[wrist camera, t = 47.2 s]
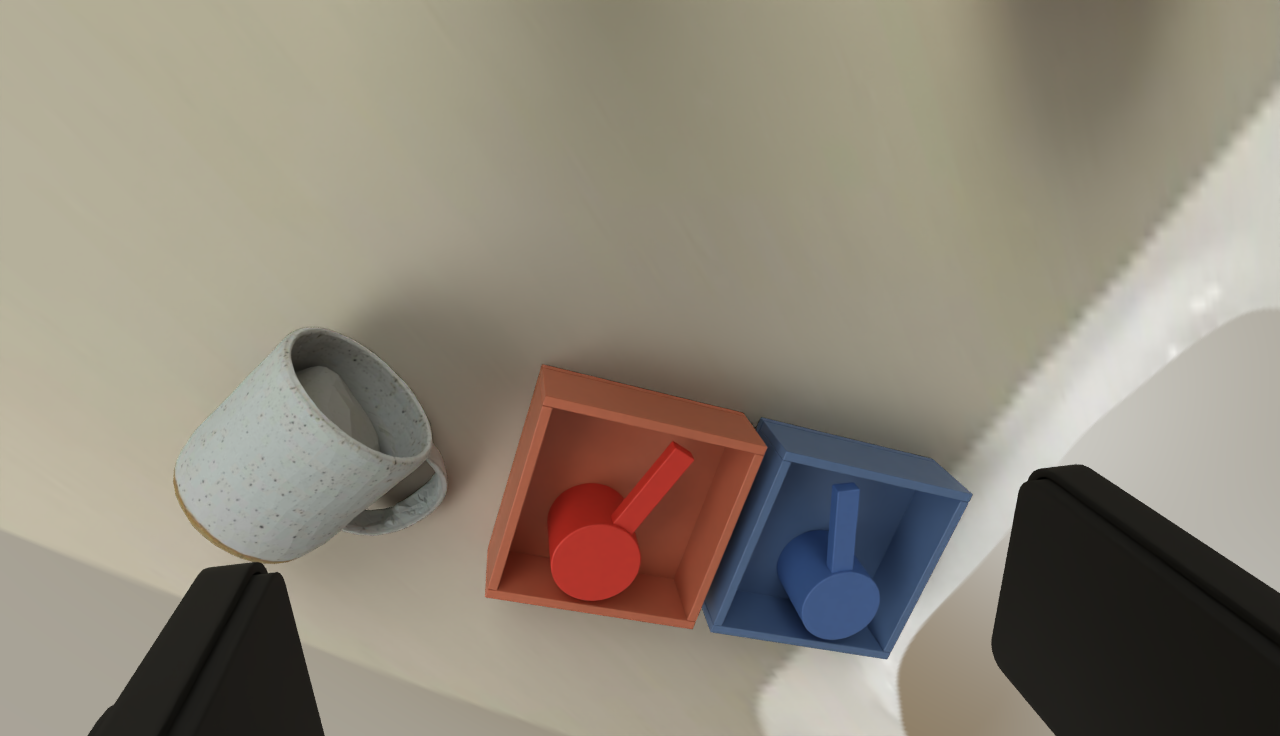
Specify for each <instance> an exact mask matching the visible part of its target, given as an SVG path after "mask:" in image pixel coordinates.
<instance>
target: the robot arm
mask: <svg viewBox="0 0 1280 736" xmlns="http://www.w3.org/2000/svg"><path fill="white" fill-rule="evenodd" d="M991 645H992V652H993V655H994V658H995V661H996V663H997V665H998V666H999V668H1000V669H1001V671H1002V672H1003V673H1004V674H1005V676H1006V677H1007V678H1008V679H1009V680H1010V682H1011V683H1012V684H1013V685H1014V686H1015V688H1016V689H1017V690H1018V691H1019V692H1020V693H1021V695H1022V696H1023V697H1024V698H1025V700H1026V701H1027V702H1028V703H1029V704H1030V705H1031V707H1032V708H1033V709H1034V710H1035V711H1036V713H1037V714H1038V715H1039V716H1040V717H1041V719H1042V720H1043V721H1044V722H1045V723H1046V724H1047V726H1048V727H1049V728H1050V729H1051V731H1052V732H1053V733H1054V734H1055V735H1056V736H1280V593H1279V592H1277V591H1276V590H1274V589H1273V588H1271V587H1269V586H1268V585H1266V584H1265V583H1263V582H1262V581H1260V580H1259V579H1257V578H1256V577H1254V576H1253V575H1251V574H1250V573H1248V572H1246V571H1245V570H1244V569H1242V568H1240V567H1239V566H1238V565H1236V564H1235V563H1233V562H1232V561H1230V560H1228V559H1227V558H1225V557H1224V556H1222V555H1221V554H1219V553H1218V552H1216V551H1215V550H1213V549H1212V548H1210V547H1209V546H1207V545H1206V544H1204V543H1203V542H1201V541H1200V540H1198V539H1197V538H1195V537H1194V536H1192V535H1191V534H1189V533H1188V532H1186V531H1184V530H1183V529H1182V528H1180V527H1178V526H1177V525H1175V524H1174V523H1172V522H1171V521H1169V520H1168V519H1166V518H1165V517H1163V516H1162V515H1160V514H1159V513H1157V512H1156V511H1154V510H1153V509H1151V508H1150V507H1148V506H1147V505H1145V504H1144V503H1142V502H1141V501H1139V500H1138V499H1136V498H1134V497H1133V496H1131V495H1130V494H1128V493H1127V492H1125V491H1124V490H1122V489H1120V488H1119V487H1118V486H1116V485H1115V484H1113V483H1111V482H1110V481H1109V480H1107V479H1105V478H1104V477H1102V476H1101V475H1100V474H1098V473H1097V472H1095V471H1093V470H1092V469H1090V468H1089V467H1086V466H1084V465H1067V466H1058V467H1050V468H1041V469H1038V470H1036V471H1034V472H1033V473H1032V474H1031V475H1030V477H1029V479H1028V481H1027V482H1025V483H1023V484H1022V486H1021V487H1020V490H1019V493H1018V498H1017V503H1016V509H1015V514H1014V520H1013V525H1012V531H1011V537H1010V542H1009V547H1008V552H1007V558H1006V564H1005V569H1004V574H1003V580H1002V585H1001V591H1000V596H999V602H998V607H997V613H996V618H995V624H994V629H993V635H992V644H991ZM88 736H325V735H324V731H323V728H322V724H321V720H320V716H319V712H318V708H317V704H316V701H315V697H314V693H313V689H312V685H311V682H310V677H309V674H308V670H307V666H306V662H305V658H304V654H303V650H302V646H301V642H300V639H299V635H298V631H297V627H296V623H295V619H294V615H293V612H292V608H291V604H290V600H289V596H288V592H287V588H286V584H285V581H284V579H283V577H282V575H281V574H280V573H278V572H275V573H268V572H267V570H266V568H265V567H264V565H263V564H262V563H260V562H252V563H243V564H235V565H226V566H218V567H210V568H206V569H203V570H202V571H201V572H200V574H199V575H198V576H197V577H196V579H195V581H194V582H193V584H192V585H191V587H190V588H189V590H188V591H187V593H186V594H185V596H184V597H183V599H182V601H181V602H180V604H179V605H178V607H177V608H176V610H175V611H174V613H173V614H172V616H171V618H170V619H169V621H168V622H167V624H166V625H165V627H164V628H163V630H162V632H161V633H160V635H159V636H158V638H157V639H156V641H155V642H154V644H153V645H152V647H151V648H150V650H149V652H148V653H147V655H146V656H145V658H144V659H143V661H142V662H141V664H140V665H139V667H138V668H137V670H136V672H135V673H134V675H133V676H132V678H131V679H130V681H129V682H128V684H127V686H126V687H125V689H124V690H123V692H122V693H121V695H120V696H119V698H118V699H117V701H116V702H115V704H114V705H113V706H111V707H109V708H108V709H107V710H106V711H105V713H104V714H103V715H102V716H101V717H100V718H99V720H98V721H97V722H96V724H95V725H94V727H93V729H92V730H91V731H90V733H89V734H88Z"/></svg>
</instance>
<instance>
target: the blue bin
mask: <svg viewBox="0 0 1280 736" xmlns="http://www.w3.org/2000/svg"><path fill="white" fill-rule="evenodd" d="M756 432H757V433H758V434H759V436H760V437H761V439H762V440H763V441H764V443H765V444H766V446H767V450H766V452H765V454H764V455H763V456H764V457H763V459H762V462H761V464H760V467H759V469H758V472H757V474H756V476H755V479H754V481H753V484H752V486H751V489H750V491H749V493H748V496H747V498H746V501H745V503H744V506H743V508H742V510H741V513H740V515H739V518H738V520H737V523H736V525H735V527H734V530H733V532H732V535H731V537H730V540H729V542H728V544H727V547H726V549H725V552H724V554H723V557H722V559H721V561H720V564H719V566H718V569H717V571H716V574H715V576H714V578H713V581H712V583H711V586H710V588H709V591H708V593H707V595H706V598H705V600H704V603H703V605H702V610H703V612H704V615H705V618H706V621H707V623H708V626H709V629H710V632H713V633H720V634H726V635H733V636H739V637H746V638H752V639H759V640H765V641H772V642H778V643H784V644H791V645H797V646H804V647H810V648H817V649H823V650H830V651H836V652H843V653H849V654H856V655H862V656H868V657H875V658H881V659H888V657H889V655H890V652H891V651H892V649H893V647H894V645H895V643H896V641H897V640H898V638H899V636H900V634H901V632H902V630H903V628H904V626H905V624H906V622H907V620H908V618H909V616H910V614H911V613H912V611H913V609H914V607H915V605H916V603H917V601H918V599H919V597H920V595H921V593H922V591H923V589H924V588H925V586H926V584H927V582H928V580H929V578H930V576H931V574H932V572H933V570H934V568H935V566H936V564H937V563H938V561H939V559H940V557H941V555H942V553H943V551H944V549H945V547H946V545H947V543H948V541H949V539H950V538H951V536H952V534H953V532H954V530H955V528H956V526H957V524H958V522H959V520H960V518H961V516H962V514H963V513H964V511H965V509H966V507H967V505H968V502H969V501H970V499H971V497H972V495H973V494H972V493H971V492H969V491H968V490H967V489H966V488H965V487H964V486H963V485H961V484H960V483H959V482H958V481H957V480H956V479H955V478H954V477H952V476H951V475H950V474H949V473H948V472H947V471H946V470H945V469H943V468H942V467H941V466H940V465H939V464H938V463H936V462H935V461H934V460H933V459H931V458H927V457H923V456H919V455H915V454H911V453H907V452H903V451H898V450H894V449H890V448H886V447H882V446H878V445H874V444H870V443H865V442H861V441H857V440H853V439H849V438H845V437H841V436H837V435H832V434H828V433H824V432H820V431H816V430H812V429H808V428H804V427H799V426H795V425H791V424H787V423H783V422H779V421H775V420H771V419H766V418H762V417H761V418H760V421H759V423H758V426H757V428H756ZM850 482H854V483H855V484H856V485H857V487H858V488H859V489H860V497H859V508H858V519H857V530H856V541H855V552H854V555H855V556H856V557H857V559H858V560H859V561H860V563H861V564H862V566H863V567H864V568H865V570H866V571H867V572H868V574H869V575H870V576H871V578H872V579H873V581H874V582H875V583H876V585H877V587H878V589H879V593H880V603H879V607H878V610H877V612H876V614H875V616H874V618H873V619H872V620H871V622H870V623H869V624H868V625H867V626H866V627H864V628H863V629H862V630H861V631H859V632H857V633H856V634H854V635H852V636H849V637H846V638H843V639H837V640H827V639H822V638H819V637H816V636H815V635H813V634H811V633H810V632H809V631H808V630H807V629H806V628H805V626H804V624H803V622H802V620H801V618H800V617H799V615H798V613H797V611H796V609H795V607H794V606H793V604H792V602H791V600H790V598H789V596H788V594H787V593H786V591H785V589H784V587H783V585H782V583H781V582H780V580H779V577H778V574H777V562H778V559H779V556H780V554H781V552H782V550H783V549H784V548H785V546H786V545H787V544H788V543H789V542H790V541H791V540H793V539H794V538H796V537H797V536H799V535H801V534H803V533H806V532H809V531H813V530H826V531H829V522H830V508H831V495H832V485H833V484H842V483H850Z"/></svg>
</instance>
